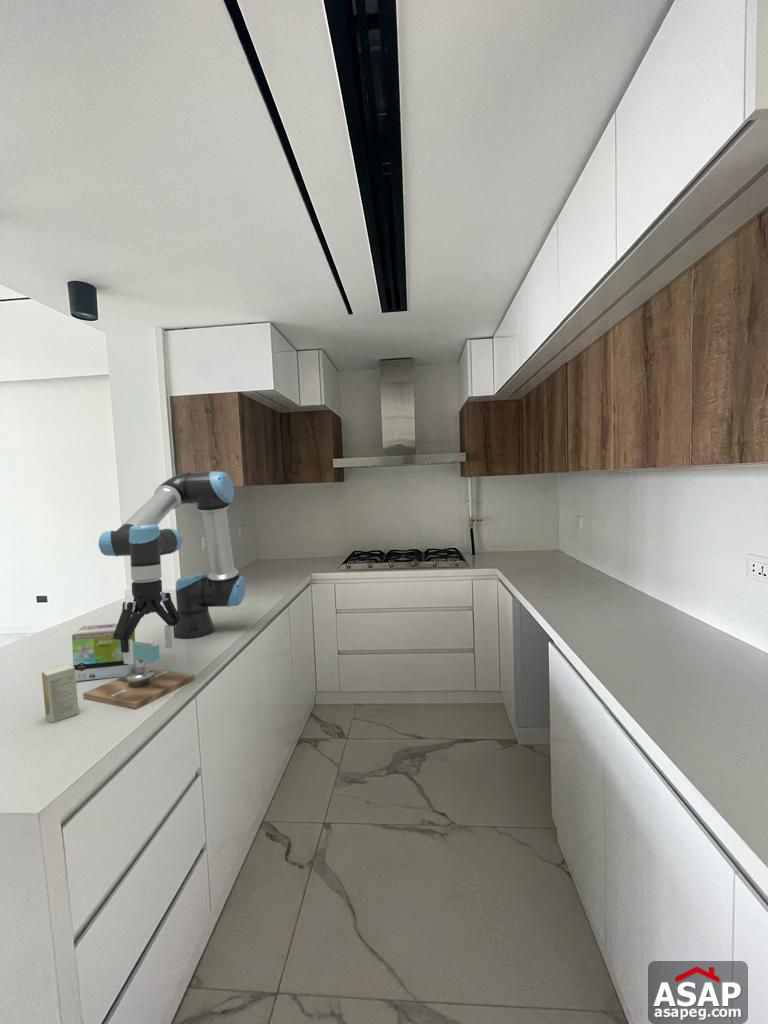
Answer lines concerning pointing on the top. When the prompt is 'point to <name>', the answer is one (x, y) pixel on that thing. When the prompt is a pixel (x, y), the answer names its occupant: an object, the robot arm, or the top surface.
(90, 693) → the post base
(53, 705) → the skincare box
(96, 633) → the tea box
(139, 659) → the teal lever handle
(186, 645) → the top surface
